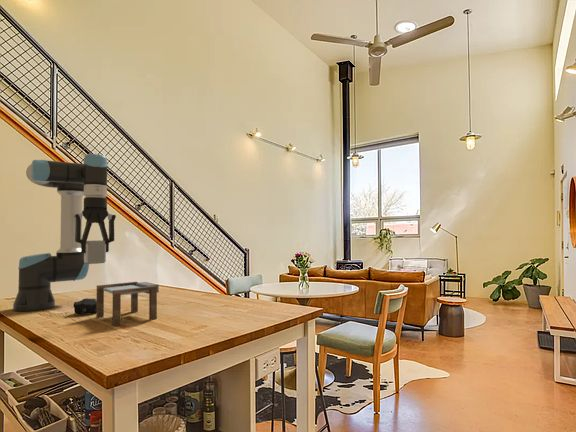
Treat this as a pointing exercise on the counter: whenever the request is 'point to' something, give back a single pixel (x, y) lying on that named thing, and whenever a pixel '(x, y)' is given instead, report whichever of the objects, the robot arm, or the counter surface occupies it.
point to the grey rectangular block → (96, 252)
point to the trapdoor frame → (117, 300)
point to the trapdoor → (138, 285)
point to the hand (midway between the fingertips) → (95, 261)
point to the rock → (85, 306)
